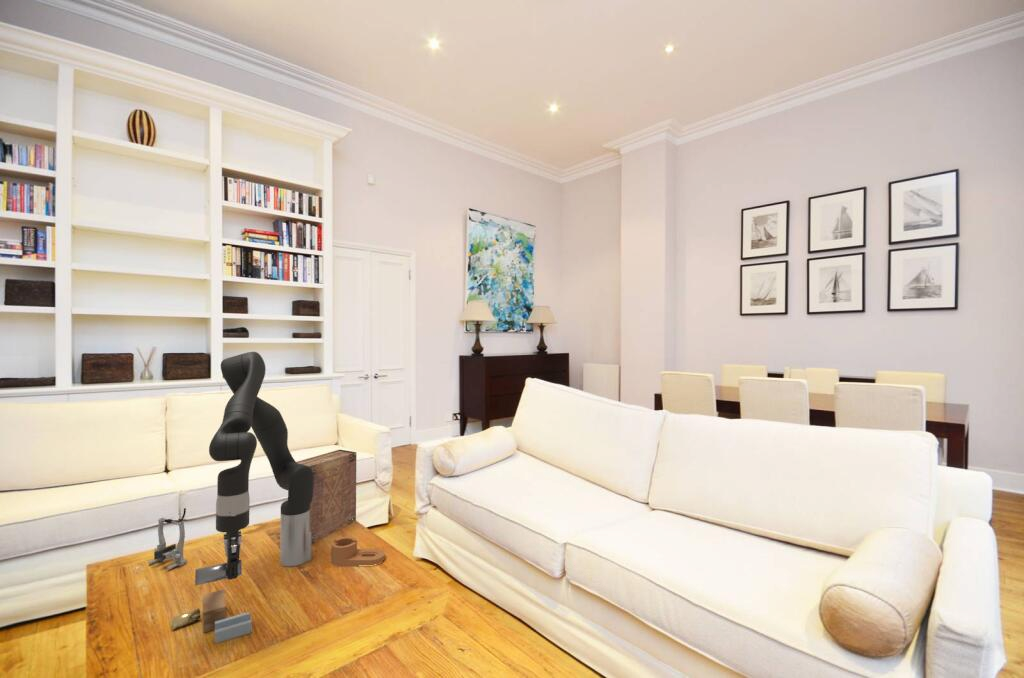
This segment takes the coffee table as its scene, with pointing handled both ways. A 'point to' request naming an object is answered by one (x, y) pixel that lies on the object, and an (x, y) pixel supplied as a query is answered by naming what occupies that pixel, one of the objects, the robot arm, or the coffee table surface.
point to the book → (332, 492)
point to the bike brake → (171, 551)
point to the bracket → (353, 553)
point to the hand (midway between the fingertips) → (232, 574)
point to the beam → (213, 609)
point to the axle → (213, 573)
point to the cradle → (232, 627)
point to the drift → (185, 618)
